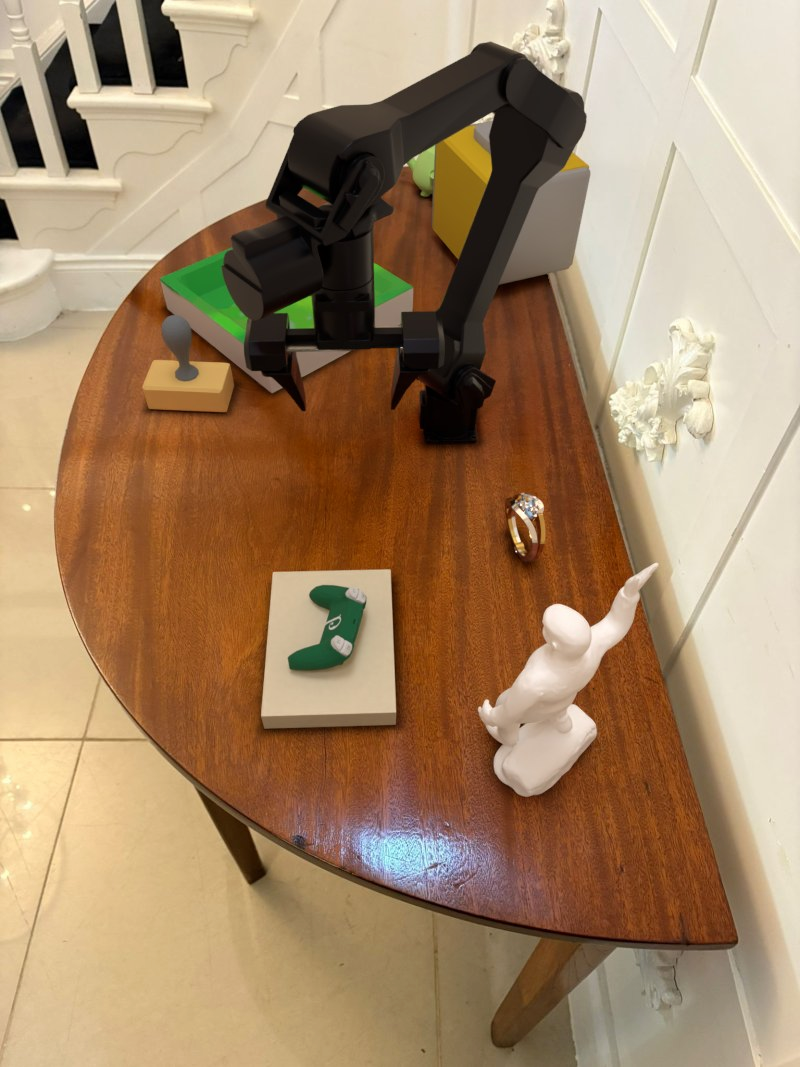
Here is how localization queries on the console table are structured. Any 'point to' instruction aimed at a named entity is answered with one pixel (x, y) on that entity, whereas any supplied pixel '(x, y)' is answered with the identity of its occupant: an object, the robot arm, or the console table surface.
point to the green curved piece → (333, 628)
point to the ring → (526, 514)
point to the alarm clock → (548, 220)
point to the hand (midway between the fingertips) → (348, 407)
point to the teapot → (424, 171)
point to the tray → (224, 325)
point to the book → (340, 691)
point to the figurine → (555, 694)
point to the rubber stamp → (186, 376)
